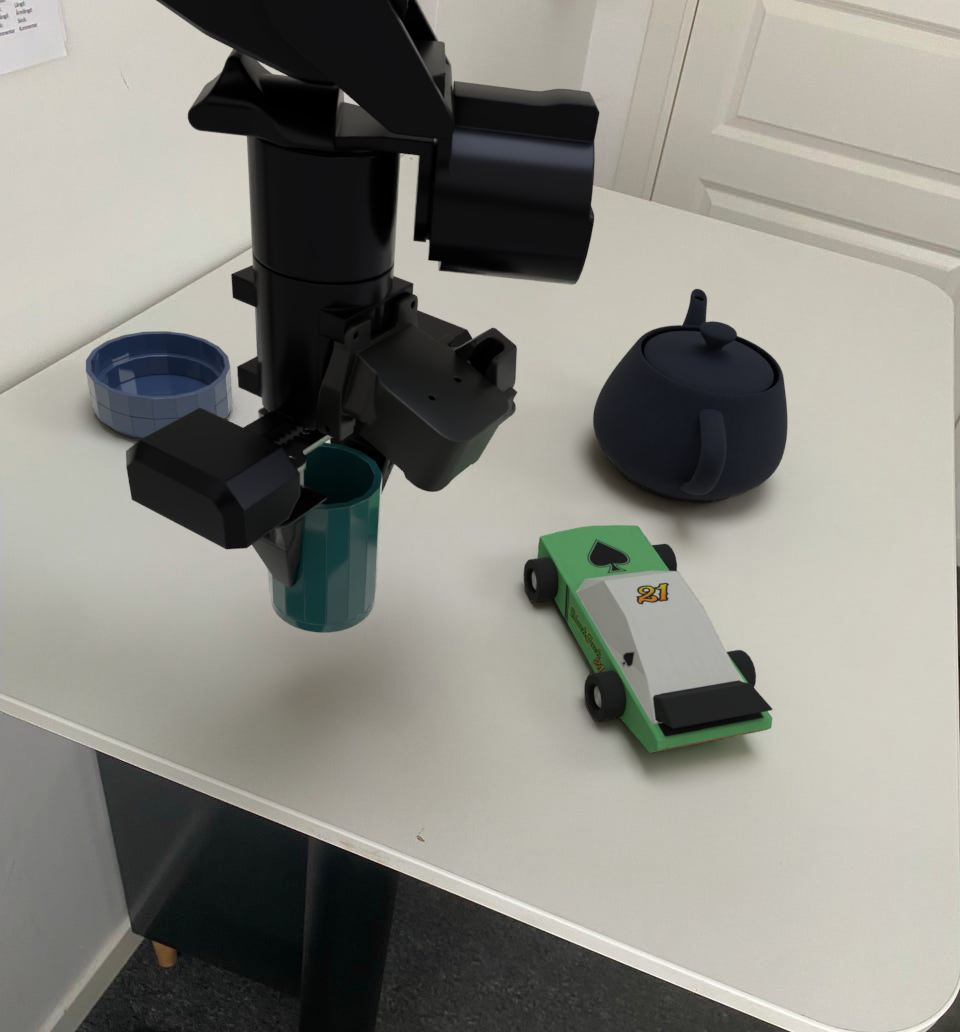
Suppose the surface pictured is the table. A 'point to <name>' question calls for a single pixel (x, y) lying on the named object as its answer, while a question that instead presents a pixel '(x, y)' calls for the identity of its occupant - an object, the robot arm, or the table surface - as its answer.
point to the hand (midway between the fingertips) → (322, 553)
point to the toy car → (645, 639)
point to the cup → (335, 544)
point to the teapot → (694, 411)
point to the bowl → (157, 380)
